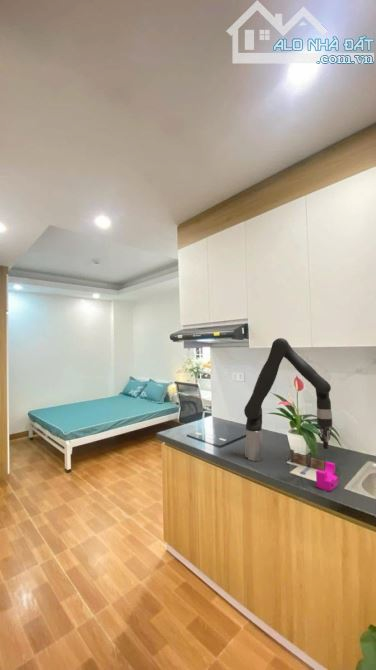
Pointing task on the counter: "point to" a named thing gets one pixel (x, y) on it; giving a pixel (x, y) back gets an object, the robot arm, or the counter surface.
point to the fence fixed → (300, 459)
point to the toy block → (327, 477)
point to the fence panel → (318, 464)
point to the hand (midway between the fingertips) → (325, 448)
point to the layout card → (303, 471)
